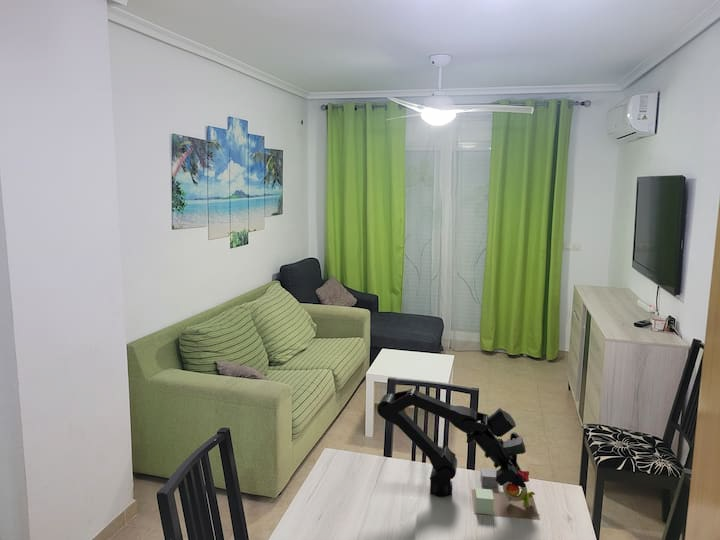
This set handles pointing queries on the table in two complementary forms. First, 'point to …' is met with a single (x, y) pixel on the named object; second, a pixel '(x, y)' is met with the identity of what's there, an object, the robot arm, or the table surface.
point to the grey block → (488, 477)
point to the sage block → (484, 501)
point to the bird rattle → (518, 489)
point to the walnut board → (510, 507)
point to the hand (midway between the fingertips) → (524, 483)
